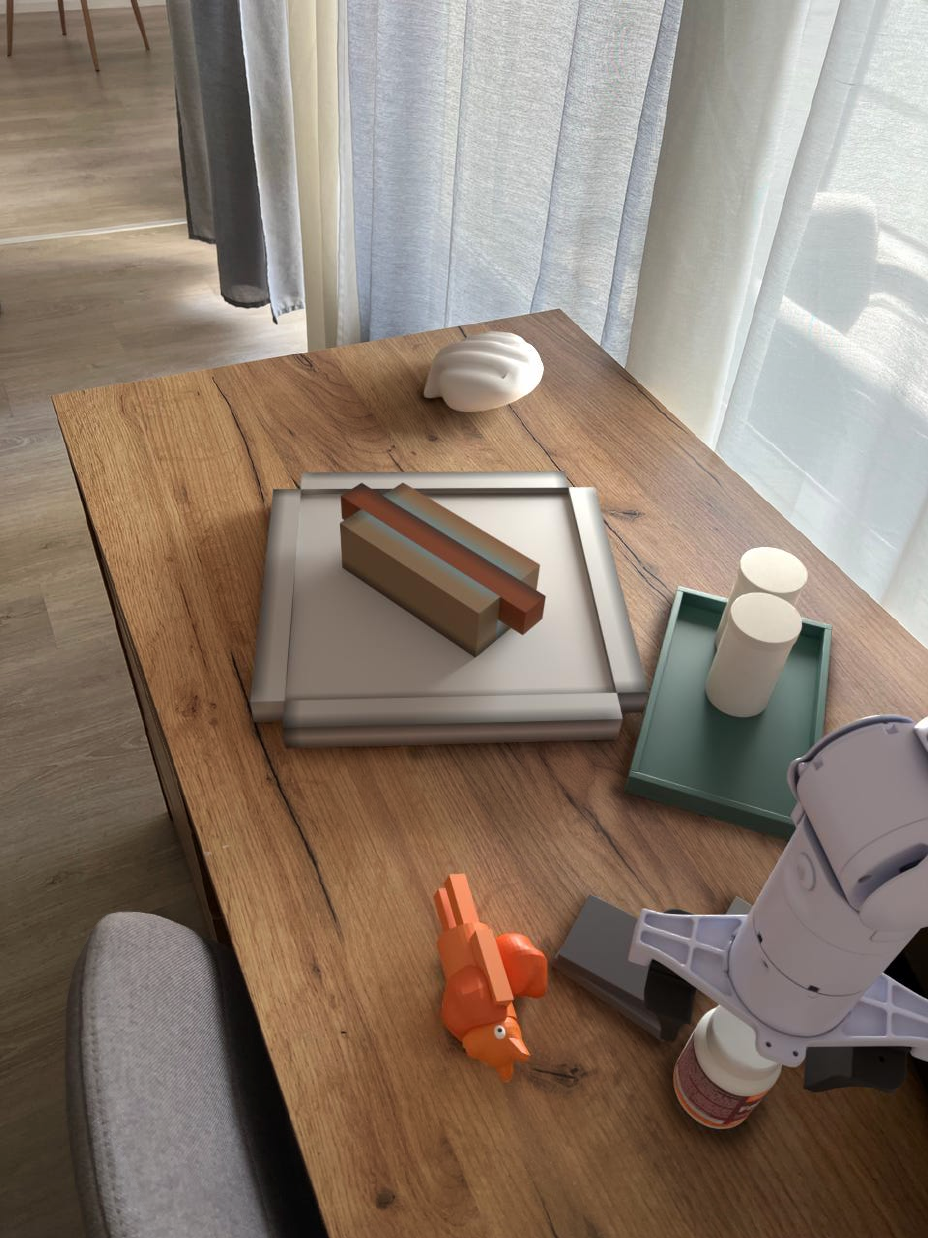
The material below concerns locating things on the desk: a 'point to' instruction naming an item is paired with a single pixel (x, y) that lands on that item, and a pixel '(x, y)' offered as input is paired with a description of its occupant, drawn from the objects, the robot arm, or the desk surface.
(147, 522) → the desk surface
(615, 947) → the grey books
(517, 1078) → the desk surface
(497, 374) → the shell shaped sculpture
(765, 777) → the tray
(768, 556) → the white cylinders
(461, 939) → the orange toy bird
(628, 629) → the silver square tray
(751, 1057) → the pill bottle
